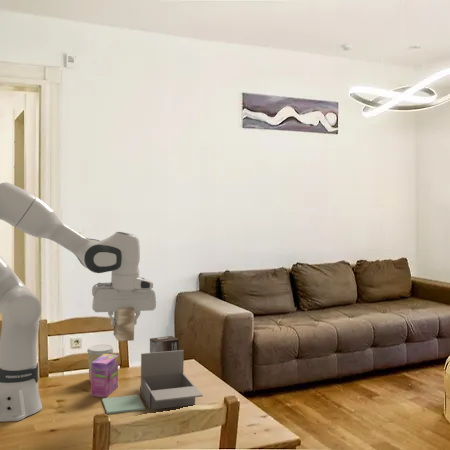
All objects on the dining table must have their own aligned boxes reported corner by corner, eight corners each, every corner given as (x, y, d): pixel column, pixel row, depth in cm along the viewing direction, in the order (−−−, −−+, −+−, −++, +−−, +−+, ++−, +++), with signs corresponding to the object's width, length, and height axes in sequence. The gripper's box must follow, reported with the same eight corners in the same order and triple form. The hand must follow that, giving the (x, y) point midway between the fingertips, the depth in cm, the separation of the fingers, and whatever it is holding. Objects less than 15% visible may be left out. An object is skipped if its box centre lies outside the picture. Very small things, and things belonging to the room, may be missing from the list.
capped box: (118, 341, 171) (119, 309, 171) (113, 334, 180) (114, 304, 179) (133, 340, 173) (134, 309, 172) (128, 333, 181) (129, 303, 181)
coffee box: (171, 377, 205) (172, 335, 204) (179, 382, 200) (179, 339, 199) (149, 380, 201) (149, 338, 200) (155, 386, 195) (156, 342, 194)
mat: (106, 414, 169) (107, 412, 169) (102, 400, 181) (102, 398, 181) (145, 409, 174) (145, 407, 174) (137, 396, 185) (137, 394, 185)
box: (106, 397, 183) (106, 363, 183) (90, 396, 184) (90, 362, 184) (118, 387, 193) (118, 354, 193) (103, 386, 195) (103, 353, 194)
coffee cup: (109, 384, 196) (110, 351, 196) (84, 383, 197) (84, 351, 196) (115, 375, 206) (115, 344, 205) (90, 375, 206) (91, 344, 205)
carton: (155, 419, 166) (156, 374, 165) (140, 393, 188) (141, 353, 187) (202, 413, 171) (203, 369, 171) (182, 389, 193) (183, 350, 192)
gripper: (93, 284, 169) (92, 328, 169) (158, 283, 176) (156, 325, 177) (91, 281, 175) (89, 323, 175) (153, 280, 182) (152, 321, 182)
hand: (123, 324), depth 176 cm, fingers closed on capped box, 5 cm apart
